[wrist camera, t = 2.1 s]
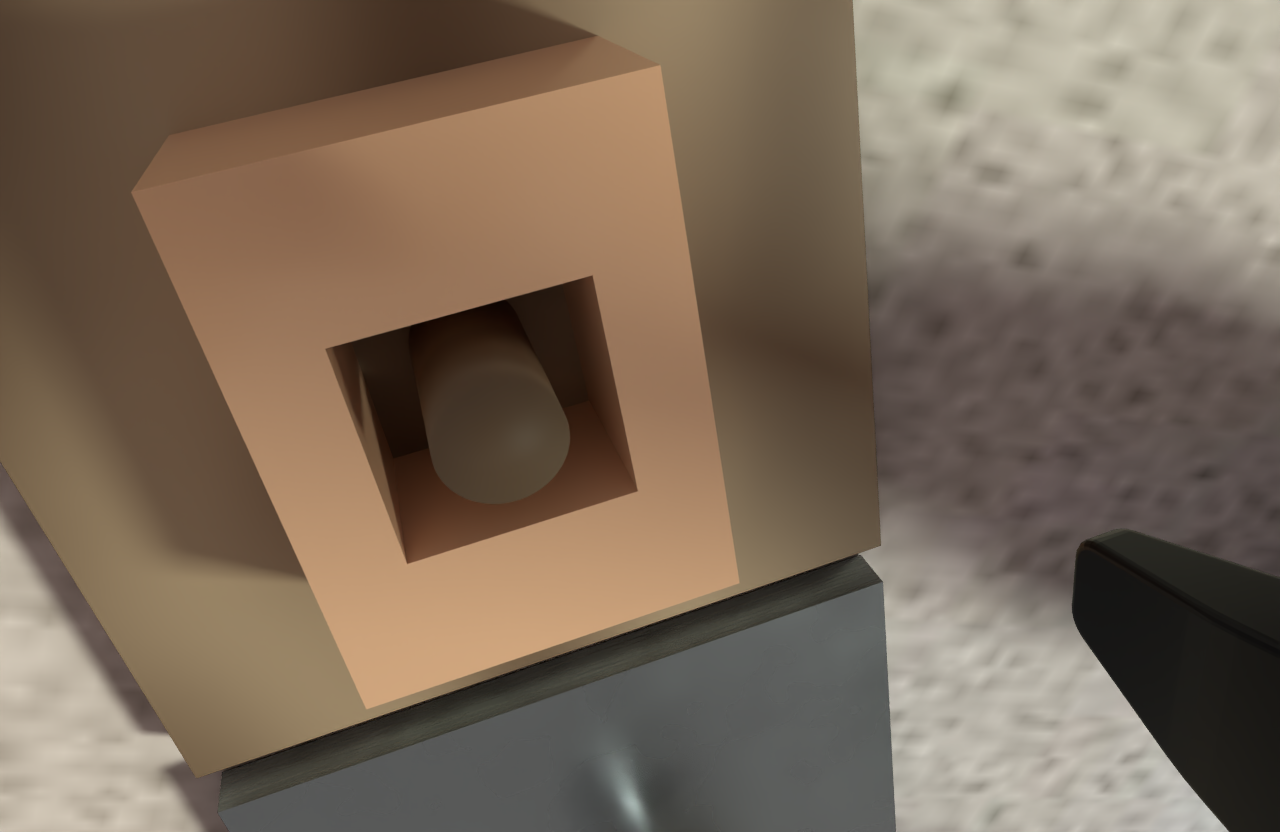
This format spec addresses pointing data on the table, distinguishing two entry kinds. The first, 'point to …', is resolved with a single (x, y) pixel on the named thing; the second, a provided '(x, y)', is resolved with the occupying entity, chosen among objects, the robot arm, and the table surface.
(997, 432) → the table surface
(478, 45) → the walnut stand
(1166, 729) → the robot arm
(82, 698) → the table surface
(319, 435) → the square tube wooden block
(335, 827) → the hub base
